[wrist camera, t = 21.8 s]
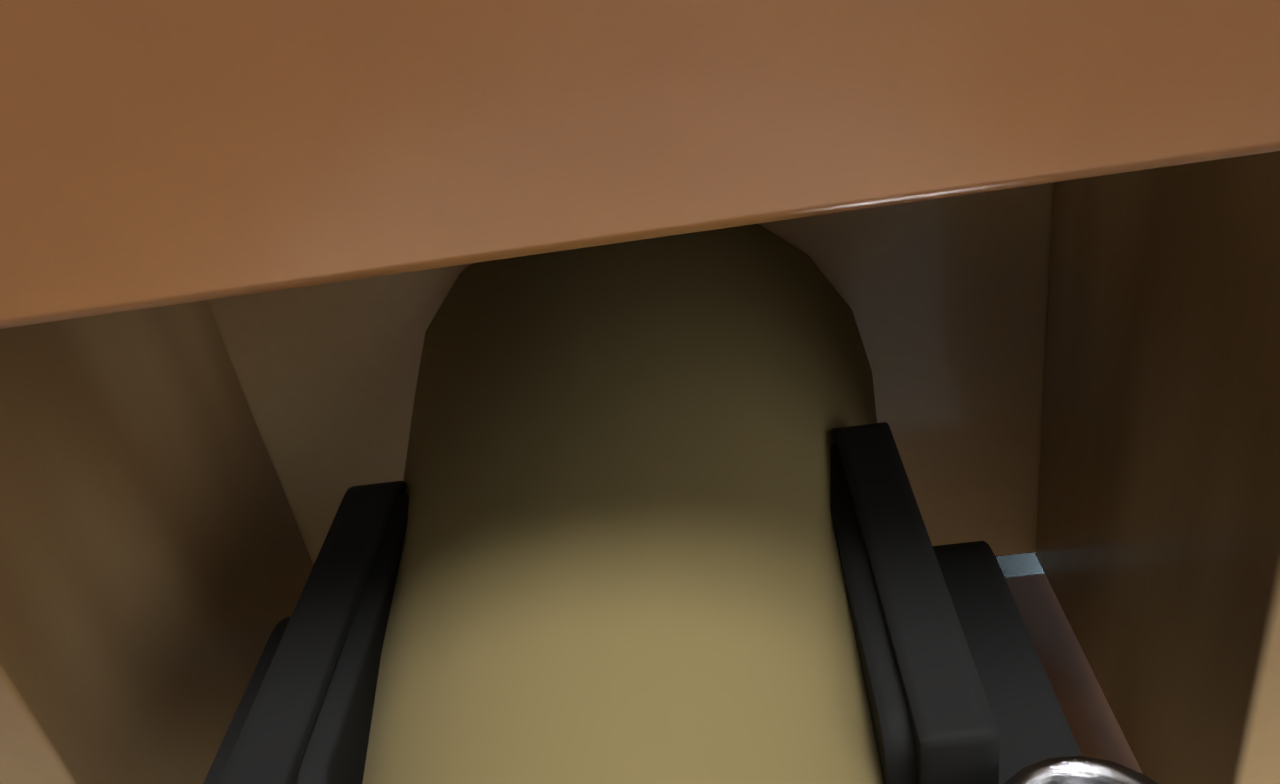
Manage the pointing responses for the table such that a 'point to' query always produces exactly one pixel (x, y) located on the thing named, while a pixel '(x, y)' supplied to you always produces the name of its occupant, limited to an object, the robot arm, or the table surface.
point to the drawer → (904, 398)
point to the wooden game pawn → (629, 525)
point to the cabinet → (560, 125)
